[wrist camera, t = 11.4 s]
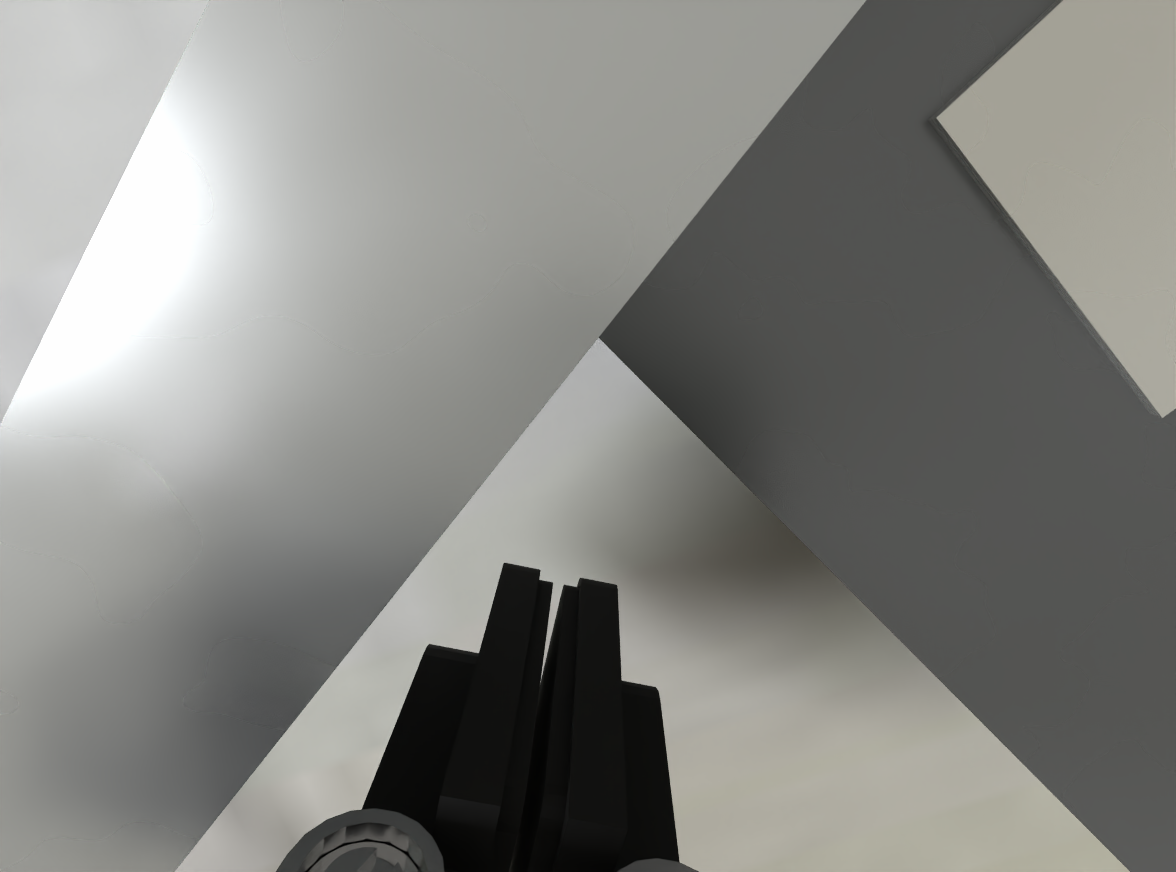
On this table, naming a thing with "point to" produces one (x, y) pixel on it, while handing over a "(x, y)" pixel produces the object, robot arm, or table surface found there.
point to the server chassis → (965, 366)
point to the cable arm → (323, 360)
